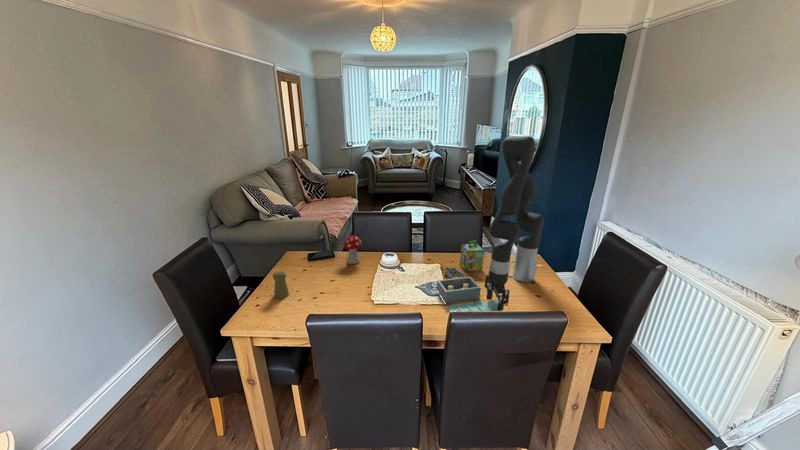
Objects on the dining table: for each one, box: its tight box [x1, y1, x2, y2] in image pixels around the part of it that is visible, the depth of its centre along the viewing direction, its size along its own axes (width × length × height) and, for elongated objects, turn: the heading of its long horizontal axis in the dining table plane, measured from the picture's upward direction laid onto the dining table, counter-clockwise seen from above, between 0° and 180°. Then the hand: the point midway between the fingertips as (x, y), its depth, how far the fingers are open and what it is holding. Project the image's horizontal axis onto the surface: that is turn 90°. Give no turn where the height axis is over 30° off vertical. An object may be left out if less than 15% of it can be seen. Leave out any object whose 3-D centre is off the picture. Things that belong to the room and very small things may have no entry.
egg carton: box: [443, 266, 466, 279], centre depth 159 cm, size 11×8×4 cm
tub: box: [436, 276, 482, 305], centre depth 142 cm, size 16×10×6 cm, turn 105°
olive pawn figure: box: [272, 270, 290, 300], centre depth 139 cm, size 6×6×11 cm
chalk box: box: [459, 239, 485, 272], centre depth 167 cm, size 9×9×15 cm
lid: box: [445, 298, 499, 313], centre depth 132 cm, size 21×11×3 cm, turn 105°
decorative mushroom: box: [342, 235, 363, 265], centre depth 170 cm, size 10×9×15 cm
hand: (494, 304), depth 134 cm, fingers open, 8 cm apart
